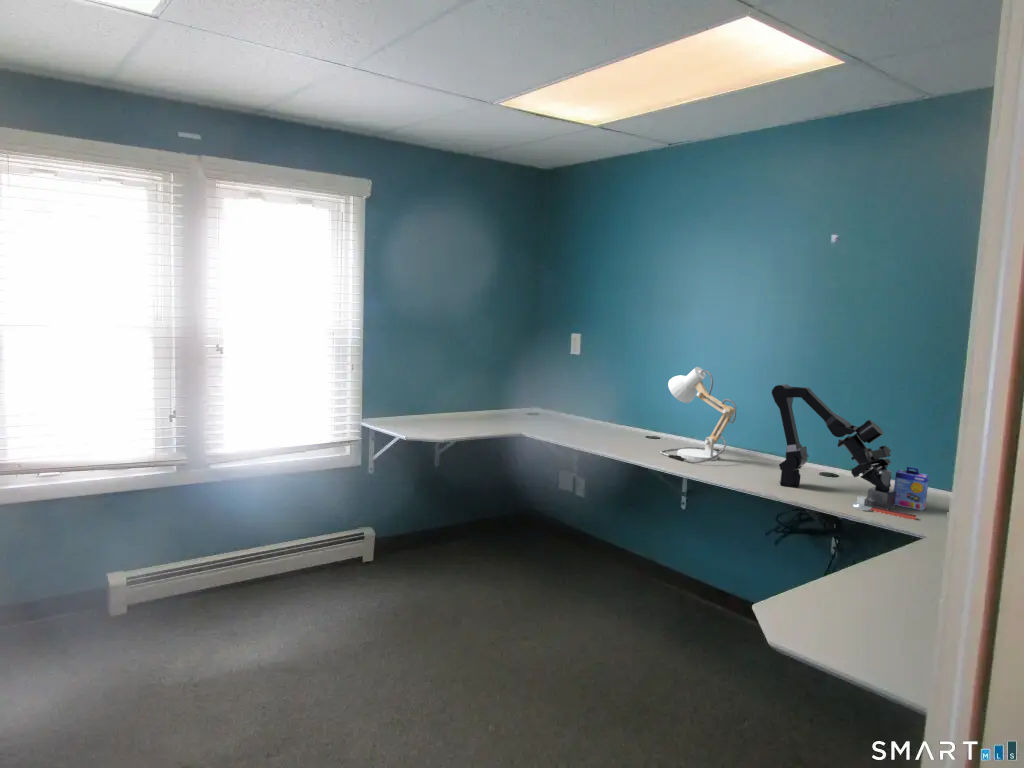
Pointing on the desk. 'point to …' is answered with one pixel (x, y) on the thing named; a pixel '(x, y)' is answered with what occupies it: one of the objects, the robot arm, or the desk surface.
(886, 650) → the desk surface
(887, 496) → the grey cylinder on block
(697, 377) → the desk lamp
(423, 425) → the desk surface
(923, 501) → the ink cartridge box
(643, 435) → the desk surface
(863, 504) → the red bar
